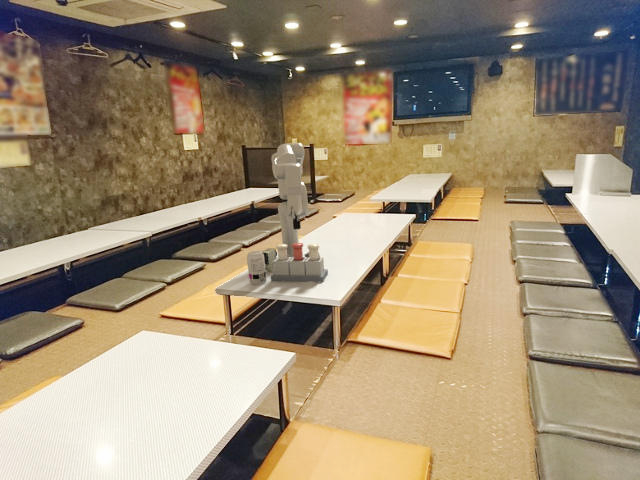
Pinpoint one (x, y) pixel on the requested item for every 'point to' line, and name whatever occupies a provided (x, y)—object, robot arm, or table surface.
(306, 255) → the electrical switch
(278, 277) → the grey compartment rack
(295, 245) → the red rounded knob
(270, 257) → the pneumatic valve
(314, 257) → the ivory plunger
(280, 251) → the ivory plunger
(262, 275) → the supplement can
